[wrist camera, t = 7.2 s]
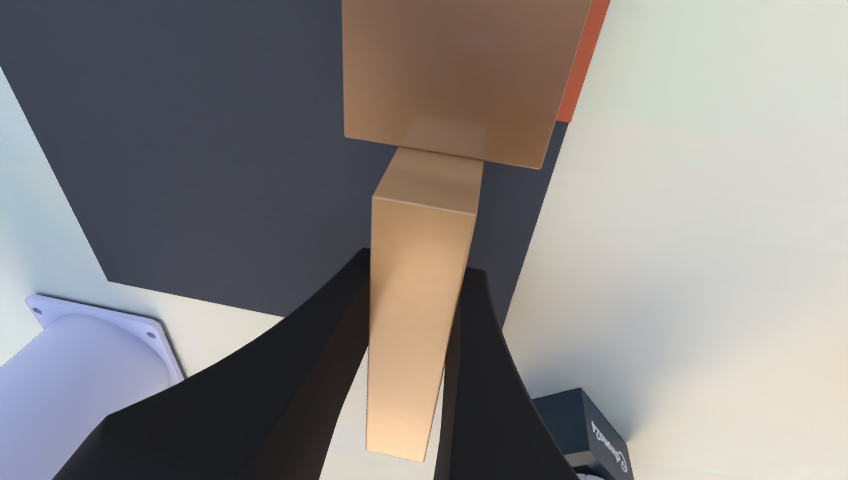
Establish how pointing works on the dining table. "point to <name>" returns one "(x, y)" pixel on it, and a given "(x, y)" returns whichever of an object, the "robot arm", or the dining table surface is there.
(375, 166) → the corner mat
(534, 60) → the spatula
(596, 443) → the watch
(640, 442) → the dining table surface
